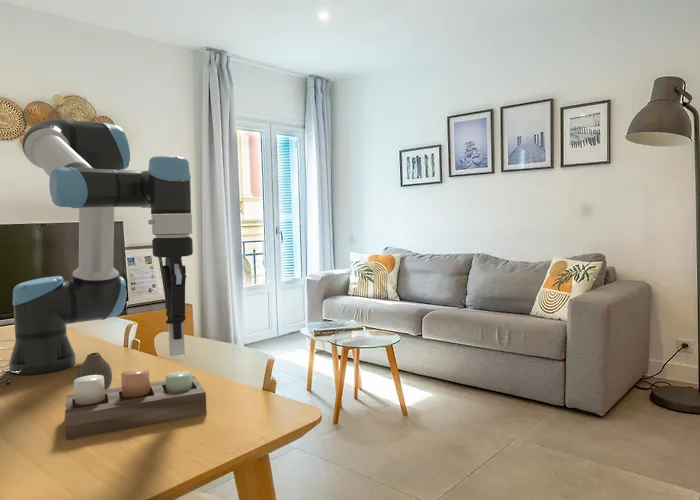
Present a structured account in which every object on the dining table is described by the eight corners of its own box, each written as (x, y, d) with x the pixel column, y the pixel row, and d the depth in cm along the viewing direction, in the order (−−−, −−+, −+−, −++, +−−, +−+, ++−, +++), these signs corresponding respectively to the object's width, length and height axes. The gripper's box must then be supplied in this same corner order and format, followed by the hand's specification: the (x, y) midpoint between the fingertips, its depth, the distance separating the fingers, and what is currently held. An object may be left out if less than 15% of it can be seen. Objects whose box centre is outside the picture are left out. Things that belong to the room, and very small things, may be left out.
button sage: (164, 392, 106) (163, 373, 106) (190, 388, 108) (189, 369, 108) (168, 400, 102) (167, 380, 101) (194, 395, 104) (193, 376, 104)
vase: (99, 398, 112) (96, 358, 112) (71, 397, 114) (68, 357, 113) (119, 388, 119) (117, 350, 118) (92, 387, 120) (90, 349, 120)
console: (68, 417, 102) (66, 395, 101) (195, 396, 112) (194, 375, 112) (66, 440, 91) (64, 415, 91) (206, 414, 102) (205, 391, 101)
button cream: (75, 398, 99) (74, 377, 99) (104, 393, 101) (103, 373, 101) (74, 406, 94) (73, 384, 94) (105, 401, 97) (104, 380, 96)
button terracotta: (121, 391, 102) (120, 371, 102) (148, 386, 105) (147, 367, 104) (123, 398, 98) (121, 377, 98) (151, 394, 100) (150, 373, 100)
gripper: (148, 235, 107) (153, 349, 109) (156, 238, 96) (161, 365, 97) (186, 234, 111) (190, 344, 112) (198, 236, 99) (202, 359, 101)
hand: (177, 354), depth 105 cm, fingers closed
